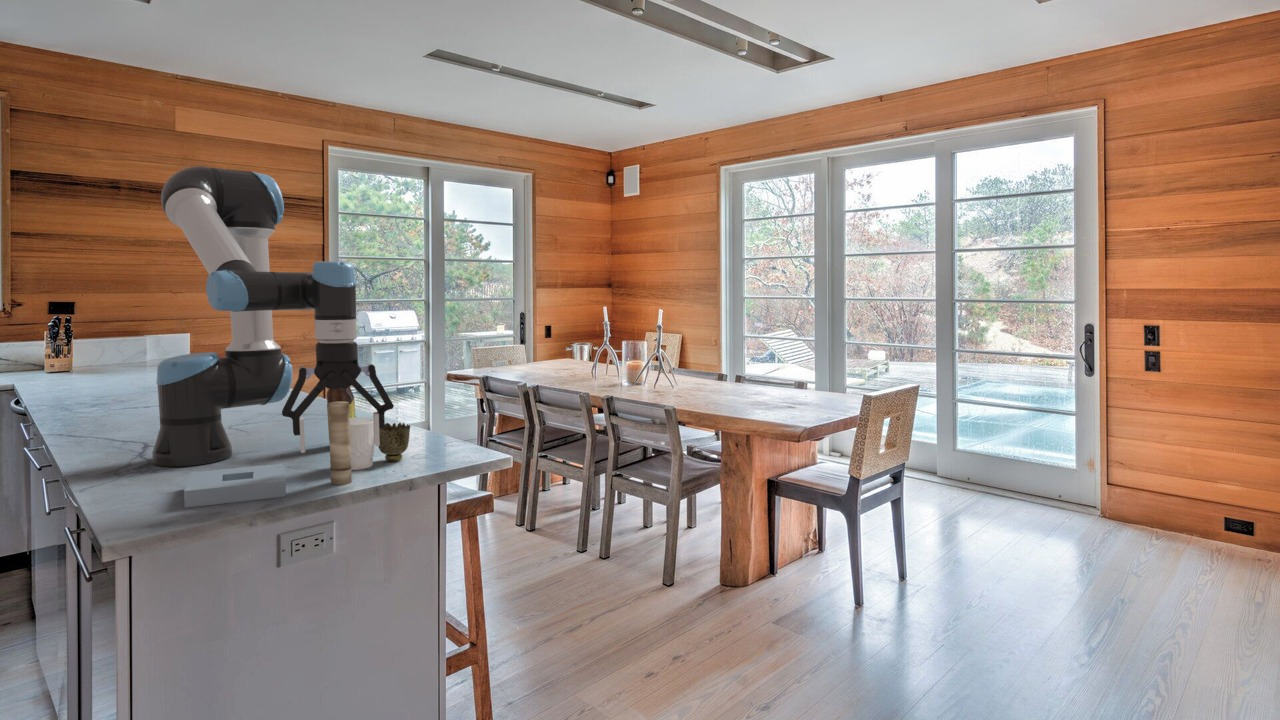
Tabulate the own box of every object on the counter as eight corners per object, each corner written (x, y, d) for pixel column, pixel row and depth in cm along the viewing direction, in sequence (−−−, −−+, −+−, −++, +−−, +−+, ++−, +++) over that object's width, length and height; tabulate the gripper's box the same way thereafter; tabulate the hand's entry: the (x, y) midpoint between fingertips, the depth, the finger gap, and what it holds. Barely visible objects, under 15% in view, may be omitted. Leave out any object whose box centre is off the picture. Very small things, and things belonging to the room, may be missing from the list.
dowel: (330, 480, 144) (327, 402, 143) (350, 478, 146) (348, 400, 145) (331, 485, 141) (328, 405, 139) (352, 483, 143) (350, 403, 141)
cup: (400, 465, 157) (399, 429, 156) (369, 463, 159) (368, 427, 158) (417, 457, 164) (416, 423, 164) (387, 455, 166) (386, 421, 165)
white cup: (352, 473, 151) (350, 426, 150) (329, 467, 155) (327, 421, 154) (383, 465, 157) (382, 420, 156) (360, 460, 161) (359, 416, 160)
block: (192, 487, 139) (191, 472, 139) (284, 478, 146) (284, 463, 146) (184, 507, 127) (183, 491, 126) (286, 496, 134) (285, 480, 134)
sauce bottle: (362, 445, 176) (359, 364, 174) (339, 450, 171) (336, 367, 169) (345, 442, 179) (342, 362, 177) (322, 446, 174) (319, 365, 172)
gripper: (264, 344, 132) (269, 458, 134) (406, 340, 143) (409, 445, 145) (264, 341, 138) (270, 450, 140) (400, 338, 150) (403, 438, 152)
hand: (340, 448), depth 143 cm, fingers open, 13 cm apart
